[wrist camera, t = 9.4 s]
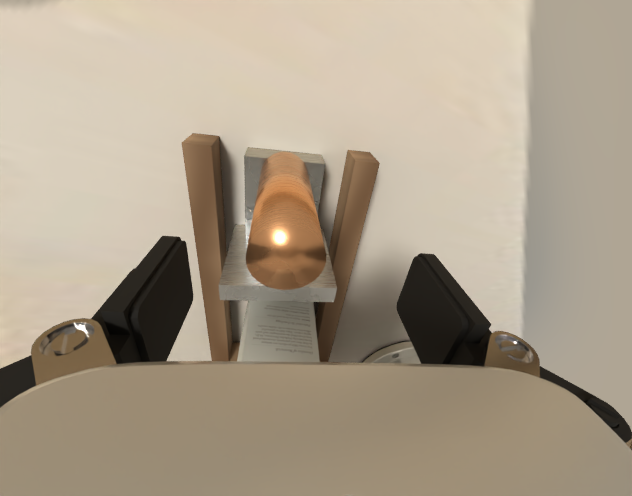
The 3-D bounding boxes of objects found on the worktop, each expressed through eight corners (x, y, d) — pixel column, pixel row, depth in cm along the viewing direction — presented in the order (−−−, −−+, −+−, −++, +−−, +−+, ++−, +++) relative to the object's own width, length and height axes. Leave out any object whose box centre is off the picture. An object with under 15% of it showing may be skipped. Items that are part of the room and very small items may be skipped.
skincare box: (294, 341, 31) (303, 528, 18) (239, 337, 29) (209, 536, 17) (313, 286, 26) (341, 485, 14) (249, 278, 25) (218, 491, 13)
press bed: (369, 152, 19) (414, 201, 13) (322, 354, 32) (332, 429, 26) (193, 133, 17) (139, 178, 11) (218, 356, 31) (201, 437, 24)
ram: (336, 149, 19) (386, 231, 10) (321, 241, 23) (345, 357, 14) (231, 137, 18) (181, 218, 9) (235, 237, 22) (204, 360, 13)
